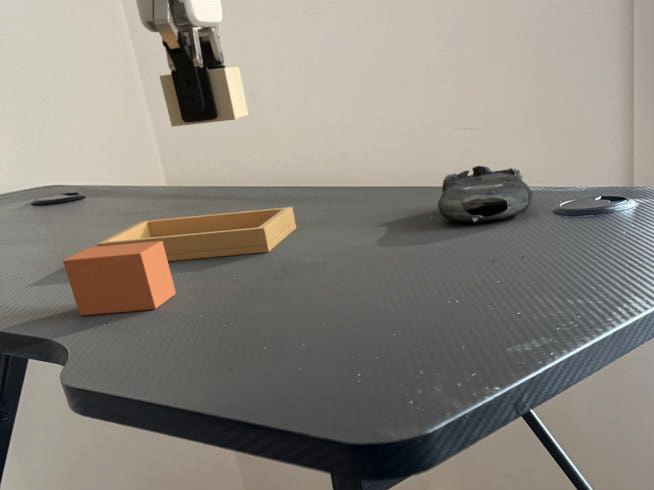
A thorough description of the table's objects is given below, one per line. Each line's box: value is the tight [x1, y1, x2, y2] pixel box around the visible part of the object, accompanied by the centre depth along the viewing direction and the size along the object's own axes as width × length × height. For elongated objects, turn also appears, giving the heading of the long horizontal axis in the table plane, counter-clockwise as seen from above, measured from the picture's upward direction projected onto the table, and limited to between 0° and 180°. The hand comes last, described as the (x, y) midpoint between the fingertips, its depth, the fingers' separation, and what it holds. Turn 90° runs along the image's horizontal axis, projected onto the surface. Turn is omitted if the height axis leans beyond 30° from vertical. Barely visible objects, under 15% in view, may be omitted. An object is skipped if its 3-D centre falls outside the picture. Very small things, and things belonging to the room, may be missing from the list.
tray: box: [96, 206, 297, 262], centre depth 92 cm, size 16×13×2 cm
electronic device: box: [437, 165, 533, 224], centre depth 93 cm, size 9×6×15 cm
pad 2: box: [159, 66, 249, 128], centre depth 85 cm, size 6×5×4 cm
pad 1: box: [62, 241, 177, 317], centre depth 71 cm, size 6×5×4 cm
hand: (209, 115), depth 86 cm, fingers closed on pad 2, 5 cm apart
